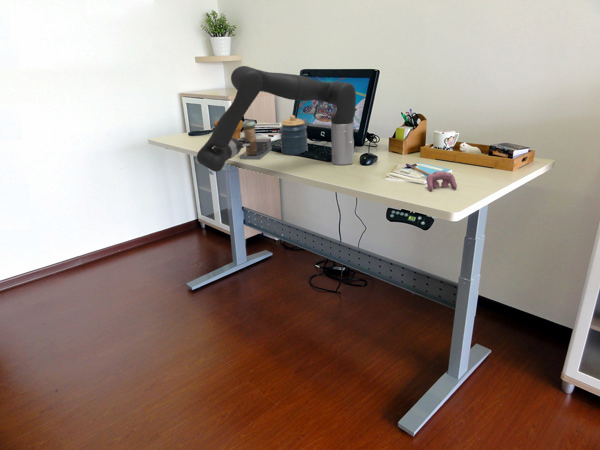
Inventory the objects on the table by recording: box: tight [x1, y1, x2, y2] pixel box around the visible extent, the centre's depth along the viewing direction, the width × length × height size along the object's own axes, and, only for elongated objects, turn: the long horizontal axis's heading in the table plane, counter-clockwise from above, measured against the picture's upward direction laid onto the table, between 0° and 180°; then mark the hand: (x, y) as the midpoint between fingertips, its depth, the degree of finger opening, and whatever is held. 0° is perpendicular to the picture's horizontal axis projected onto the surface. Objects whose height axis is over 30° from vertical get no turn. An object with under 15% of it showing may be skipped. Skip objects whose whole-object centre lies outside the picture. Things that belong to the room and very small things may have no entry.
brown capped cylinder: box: [242, 120, 257, 155], centre depth 192 cm, size 6×6×15 cm
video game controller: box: [425, 170, 458, 192], centre depth 144 cm, size 10×5×7 cm, turn 92°
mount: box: [239, 138, 273, 160], centre depth 200 cm, size 10×18×6 cm, turn 166°
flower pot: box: [214, 119, 243, 139], centre depth 217 cm, size 14×14×13 cm
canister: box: [279, 114, 309, 156], centre depth 198 cm, size 13×13×18 cm
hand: (243, 139), depth 185 cm, fingers closed
